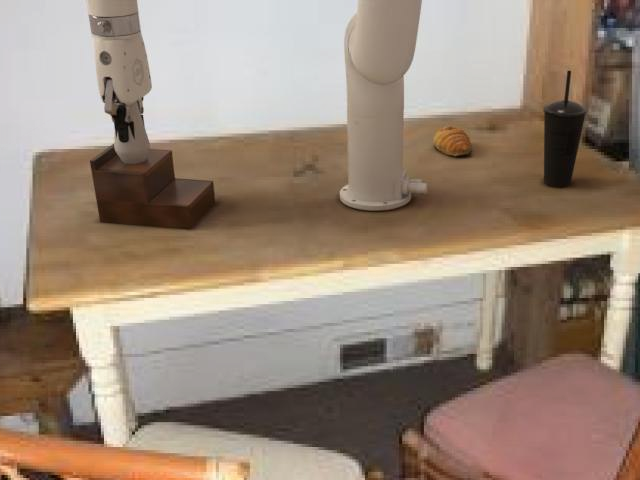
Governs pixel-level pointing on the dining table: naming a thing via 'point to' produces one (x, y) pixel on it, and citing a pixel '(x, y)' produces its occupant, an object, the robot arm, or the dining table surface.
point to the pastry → (452, 141)
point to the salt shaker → (133, 148)
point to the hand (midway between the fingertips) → (131, 140)
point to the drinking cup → (562, 138)
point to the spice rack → (148, 191)
